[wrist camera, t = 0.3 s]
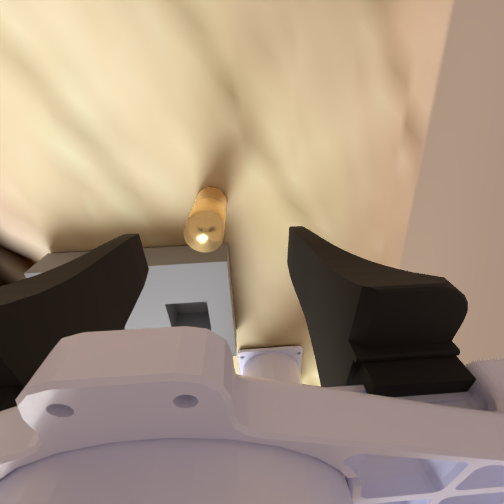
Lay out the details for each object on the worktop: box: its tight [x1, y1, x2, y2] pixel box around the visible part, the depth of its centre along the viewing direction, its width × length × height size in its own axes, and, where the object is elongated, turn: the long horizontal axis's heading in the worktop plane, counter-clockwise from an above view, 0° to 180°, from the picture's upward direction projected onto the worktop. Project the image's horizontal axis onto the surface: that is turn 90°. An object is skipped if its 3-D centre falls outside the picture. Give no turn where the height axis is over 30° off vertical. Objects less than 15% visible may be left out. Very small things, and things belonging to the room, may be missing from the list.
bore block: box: [24, 243, 236, 356], centre depth 24 cm, size 12×16×3 cm
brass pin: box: [183, 187, 227, 252], centre depth 18 cm, size 2×2×6 cm
